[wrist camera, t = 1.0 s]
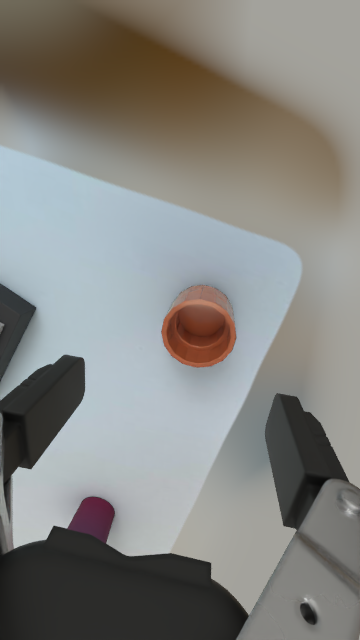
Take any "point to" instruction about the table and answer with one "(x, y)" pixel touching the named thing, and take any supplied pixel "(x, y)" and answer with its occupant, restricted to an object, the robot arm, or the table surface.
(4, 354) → the scale
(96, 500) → the cup
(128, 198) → the table surface
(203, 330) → the flower pot
